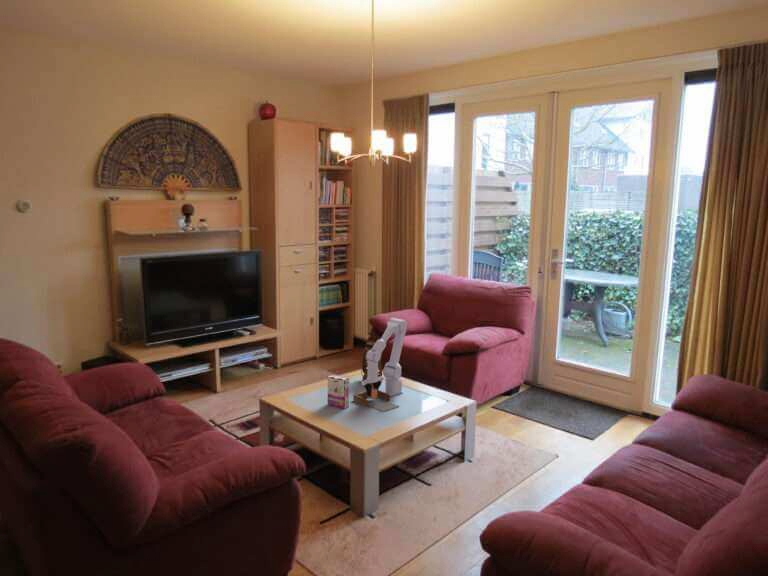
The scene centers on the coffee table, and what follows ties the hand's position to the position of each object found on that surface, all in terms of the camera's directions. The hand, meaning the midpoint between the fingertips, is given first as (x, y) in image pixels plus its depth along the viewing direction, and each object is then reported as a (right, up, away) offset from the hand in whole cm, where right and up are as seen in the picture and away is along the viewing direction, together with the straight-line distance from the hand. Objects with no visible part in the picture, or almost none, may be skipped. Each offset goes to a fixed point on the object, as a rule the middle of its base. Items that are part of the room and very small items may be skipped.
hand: (372, 395), depth 303 cm
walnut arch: (0, -3, +1) cm, 3 cm away
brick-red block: (0, -1, 0) cm, 1 cm away
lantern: (-1, +2, +31) cm, 31 cm away
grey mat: (+8, -5, -8) cm, 12 cm away
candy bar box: (-18, -4, -8) cm, 20 cm away
